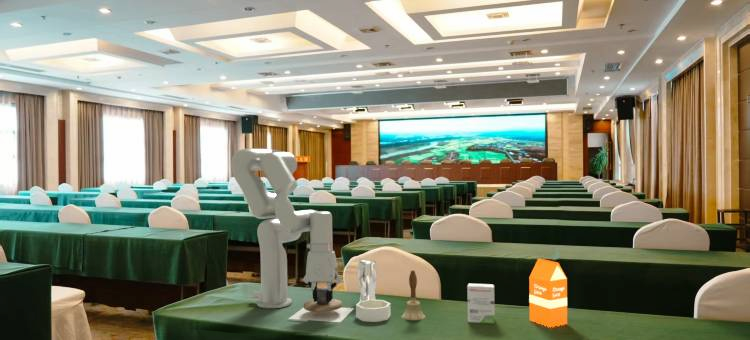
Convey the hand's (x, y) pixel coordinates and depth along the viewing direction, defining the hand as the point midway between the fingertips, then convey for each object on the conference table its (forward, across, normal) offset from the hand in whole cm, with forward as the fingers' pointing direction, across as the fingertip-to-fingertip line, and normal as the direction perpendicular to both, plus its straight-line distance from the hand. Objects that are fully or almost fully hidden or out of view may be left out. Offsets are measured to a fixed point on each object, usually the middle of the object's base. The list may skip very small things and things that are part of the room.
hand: (322, 300), depth 176 cm
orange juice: (+6, +74, +8) cm, 74 cm away
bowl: (+5, +18, 0) cm, 18 cm away
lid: (+2, 0, 0) cm, 2 cm away
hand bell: (+5, +31, +3) cm, 31 cm away
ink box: (+6, +53, +5) cm, 53 cm away
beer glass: (+5, +11, +19) cm, 22 cm away
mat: (+5, 0, 0) cm, 5 cm away
